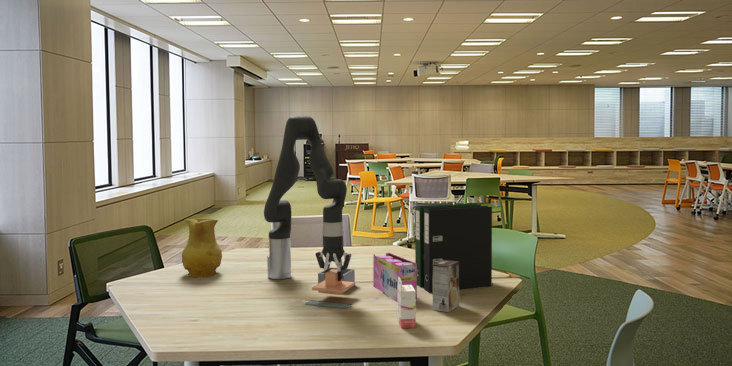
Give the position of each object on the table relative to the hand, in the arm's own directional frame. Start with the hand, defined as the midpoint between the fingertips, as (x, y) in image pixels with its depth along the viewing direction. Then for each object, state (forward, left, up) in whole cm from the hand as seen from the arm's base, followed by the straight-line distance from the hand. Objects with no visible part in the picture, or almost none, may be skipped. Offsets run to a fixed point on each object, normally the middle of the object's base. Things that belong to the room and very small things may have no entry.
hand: (333, 280), depth 213 cm
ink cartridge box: (+33, -17, -8) cm, 38 cm away
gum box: (+18, +16, -8) cm, 25 cm away
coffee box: (+41, +4, -8) cm, 42 cm away
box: (-6, +16, -8) cm, 19 cm away
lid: (0, 0, -4) cm, 4 cm away
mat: (0, 0, -8) cm, 8 cm away
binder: (+37, +35, -8) cm, 52 cm away
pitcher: (-73, +21, -8) cm, 76 cm away
